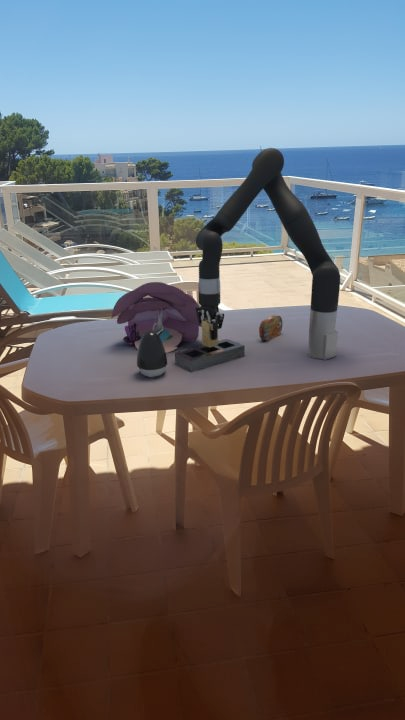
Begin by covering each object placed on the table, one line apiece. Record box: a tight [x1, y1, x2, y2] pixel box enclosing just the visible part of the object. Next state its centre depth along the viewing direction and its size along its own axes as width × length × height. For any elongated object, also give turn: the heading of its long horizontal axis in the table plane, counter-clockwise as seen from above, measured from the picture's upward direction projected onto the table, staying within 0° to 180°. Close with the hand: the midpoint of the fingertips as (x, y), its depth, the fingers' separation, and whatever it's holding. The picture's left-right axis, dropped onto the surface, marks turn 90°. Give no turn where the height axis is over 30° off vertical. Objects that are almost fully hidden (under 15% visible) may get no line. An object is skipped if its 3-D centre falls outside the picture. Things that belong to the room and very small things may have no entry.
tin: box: [258, 314, 283, 342], centre depth 199 cm, size 15×3×8 cm, turn 143°
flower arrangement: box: [110, 281, 202, 354], centre depth 189 cm, size 35×24×28 cm
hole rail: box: [174, 338, 246, 373], centre depth 177 cm, size 24×10×4 cm, turn 127°
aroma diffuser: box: [136, 330, 168, 378], centre depth 164 cm, size 10×10×15 cm
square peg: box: [201, 319, 219, 347], centre depth 175 cm, size 4×4×9 cm
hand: (209, 337), depth 175 cm, fingers closed on square peg, 4 cm apart
